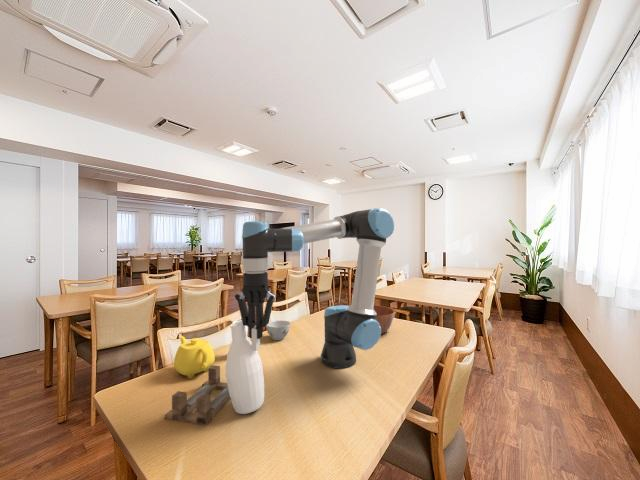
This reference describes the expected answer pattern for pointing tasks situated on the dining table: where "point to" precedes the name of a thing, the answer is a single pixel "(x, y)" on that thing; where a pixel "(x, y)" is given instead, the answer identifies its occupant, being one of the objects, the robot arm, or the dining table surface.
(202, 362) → the teapot
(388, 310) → the bowl
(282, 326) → the teacup
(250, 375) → the bottle
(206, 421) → the cradle
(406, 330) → the dining table surface
